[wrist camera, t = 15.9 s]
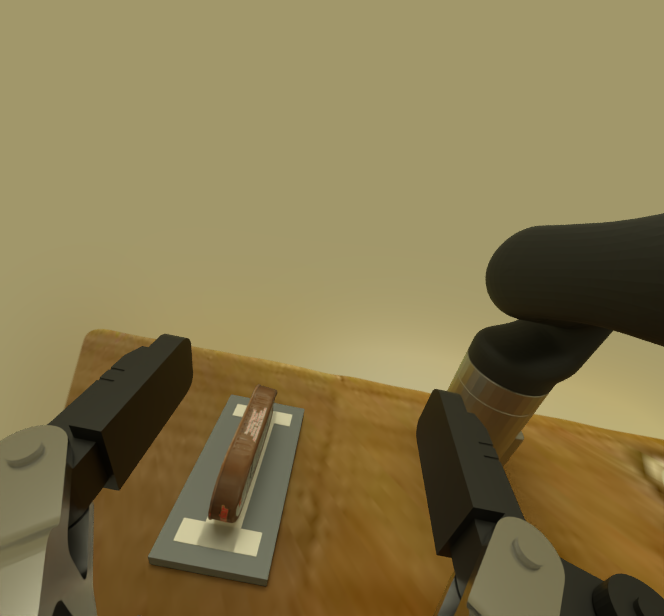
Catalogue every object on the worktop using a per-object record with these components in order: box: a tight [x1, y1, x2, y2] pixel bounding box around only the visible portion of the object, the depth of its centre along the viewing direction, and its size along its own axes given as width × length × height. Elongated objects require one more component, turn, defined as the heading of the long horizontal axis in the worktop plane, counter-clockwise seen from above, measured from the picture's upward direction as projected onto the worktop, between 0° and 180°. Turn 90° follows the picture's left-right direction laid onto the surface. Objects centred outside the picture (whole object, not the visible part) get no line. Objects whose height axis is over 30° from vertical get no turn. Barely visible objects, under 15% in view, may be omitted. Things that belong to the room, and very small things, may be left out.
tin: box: [208, 384, 277, 523], centre depth 34 cm, size 15×3×8 cm, turn 174°
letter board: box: [148, 395, 304, 586], centre depth 37 cm, size 11×20×2 cm, turn 175°
